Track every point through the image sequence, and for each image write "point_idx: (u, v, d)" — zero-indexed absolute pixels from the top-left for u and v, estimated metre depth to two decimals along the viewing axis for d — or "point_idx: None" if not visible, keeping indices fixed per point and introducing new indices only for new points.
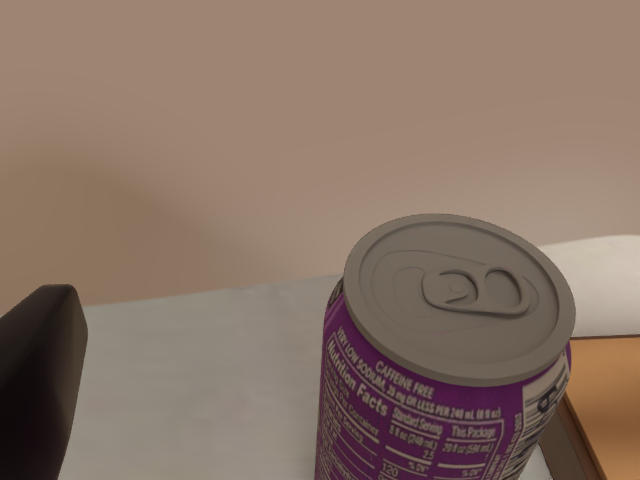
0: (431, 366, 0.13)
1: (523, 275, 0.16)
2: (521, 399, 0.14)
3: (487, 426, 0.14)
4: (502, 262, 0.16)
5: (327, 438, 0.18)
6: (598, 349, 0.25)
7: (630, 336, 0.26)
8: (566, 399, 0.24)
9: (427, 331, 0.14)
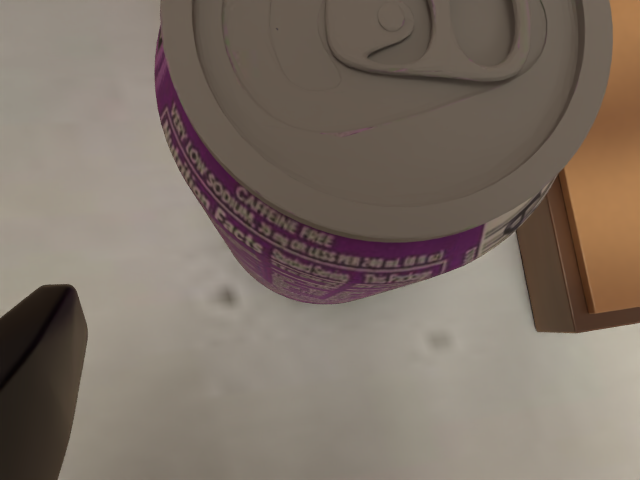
0: (326, 220, 0.07)
1: None
2: (480, 233, 0.08)
3: (420, 270, 0.09)
4: None
5: None
6: None
7: None
8: None
9: (328, 126, 0.08)
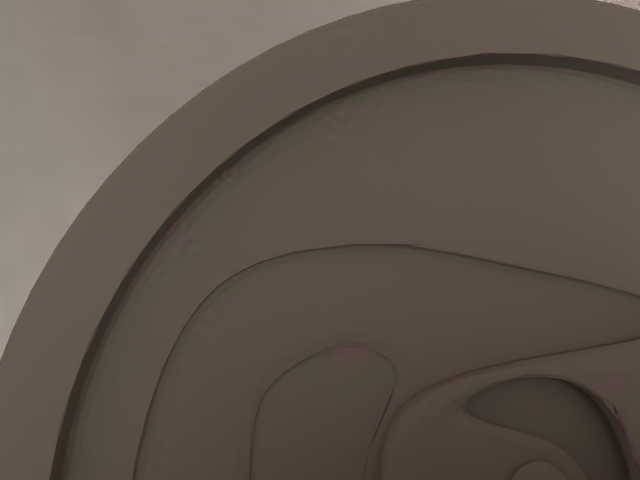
0: None
1: None
2: None
3: None
4: None
5: None
6: None
7: None
8: None
9: None
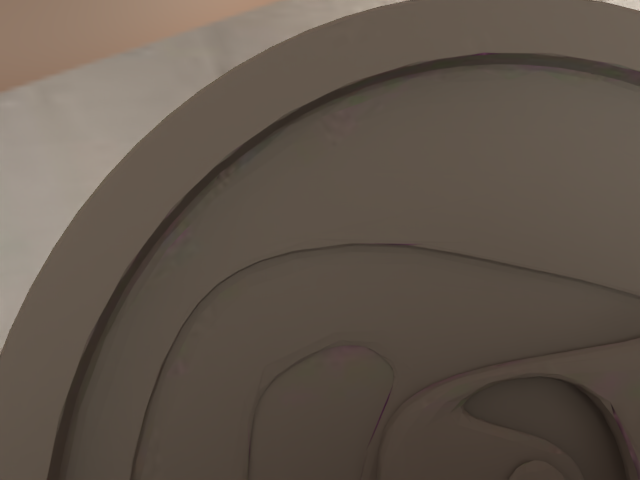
0: None
1: None
2: None
3: None
4: None
5: None
6: None
7: None
8: None
9: None
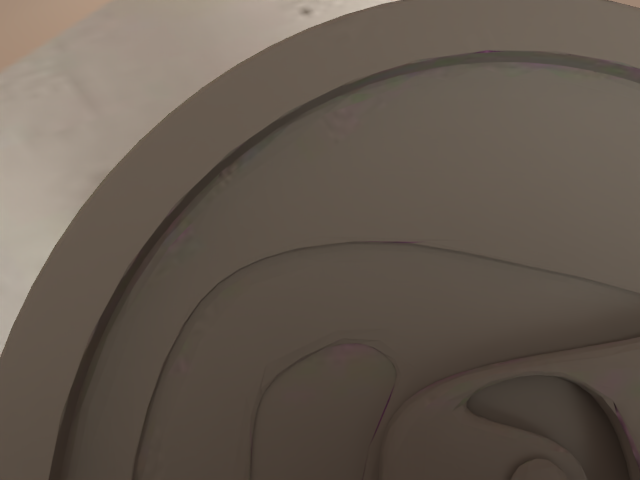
0: None
1: None
2: None
3: None
4: None
5: None
6: None
7: None
8: None
9: None
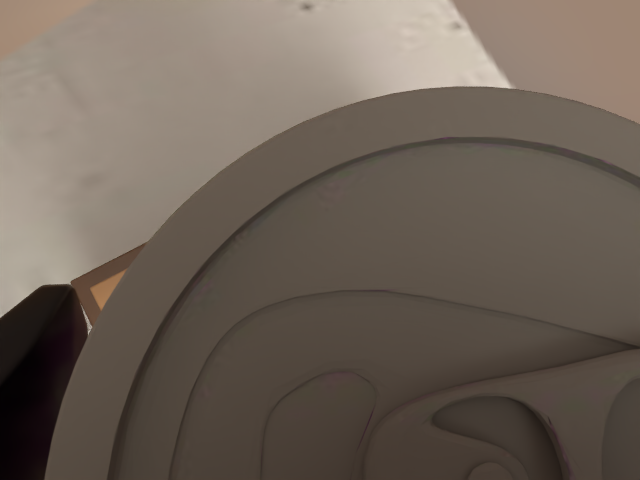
0: None
1: None
2: None
3: None
4: None
5: None
6: None
7: None
8: None
9: None
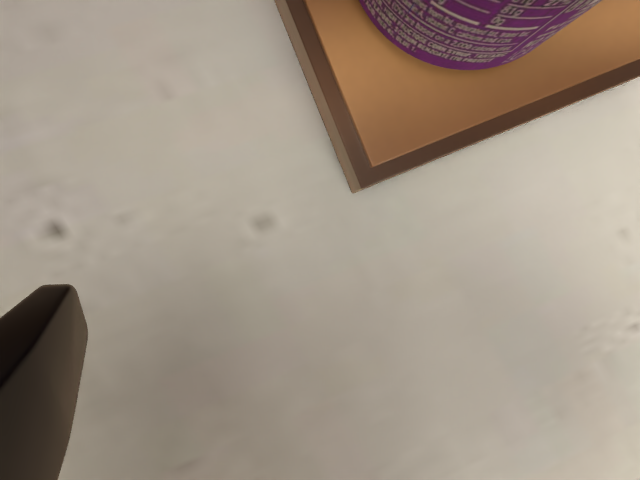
0: None
1: None
2: None
3: None
4: None
5: None
6: None
7: None
8: None
9: None
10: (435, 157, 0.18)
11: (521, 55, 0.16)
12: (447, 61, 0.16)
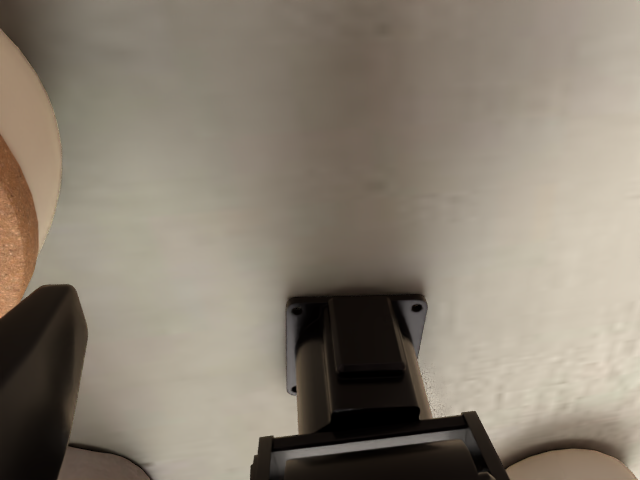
0: None
1: None
2: None
3: None
4: None
5: None
6: None
7: None
8: None
9: None
10: None
11: None
12: None
